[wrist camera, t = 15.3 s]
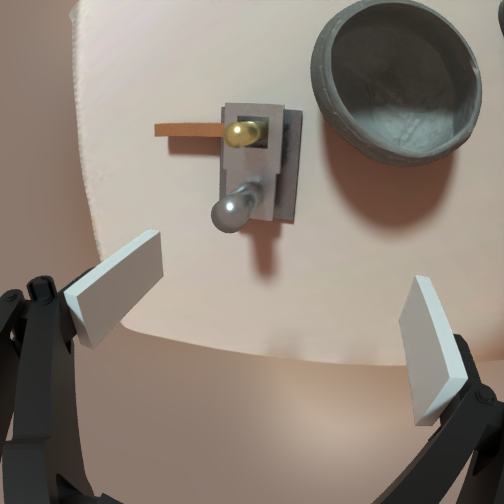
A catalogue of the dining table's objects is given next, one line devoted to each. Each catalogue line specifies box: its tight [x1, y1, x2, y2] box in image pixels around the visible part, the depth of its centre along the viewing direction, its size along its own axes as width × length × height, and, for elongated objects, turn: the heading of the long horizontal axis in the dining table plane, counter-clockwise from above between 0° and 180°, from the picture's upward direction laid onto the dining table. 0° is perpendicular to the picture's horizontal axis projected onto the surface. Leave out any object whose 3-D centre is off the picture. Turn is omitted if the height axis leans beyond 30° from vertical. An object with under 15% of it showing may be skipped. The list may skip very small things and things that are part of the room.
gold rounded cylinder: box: [223, 121, 269, 148], centre depth 38 cm, size 3×3×12 cm
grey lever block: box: [155, 103, 302, 233], centre depth 40 cm, size 18×22×15 cm
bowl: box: [310, 0, 482, 167], centre depth 30 cm, size 21×21×15 cm
